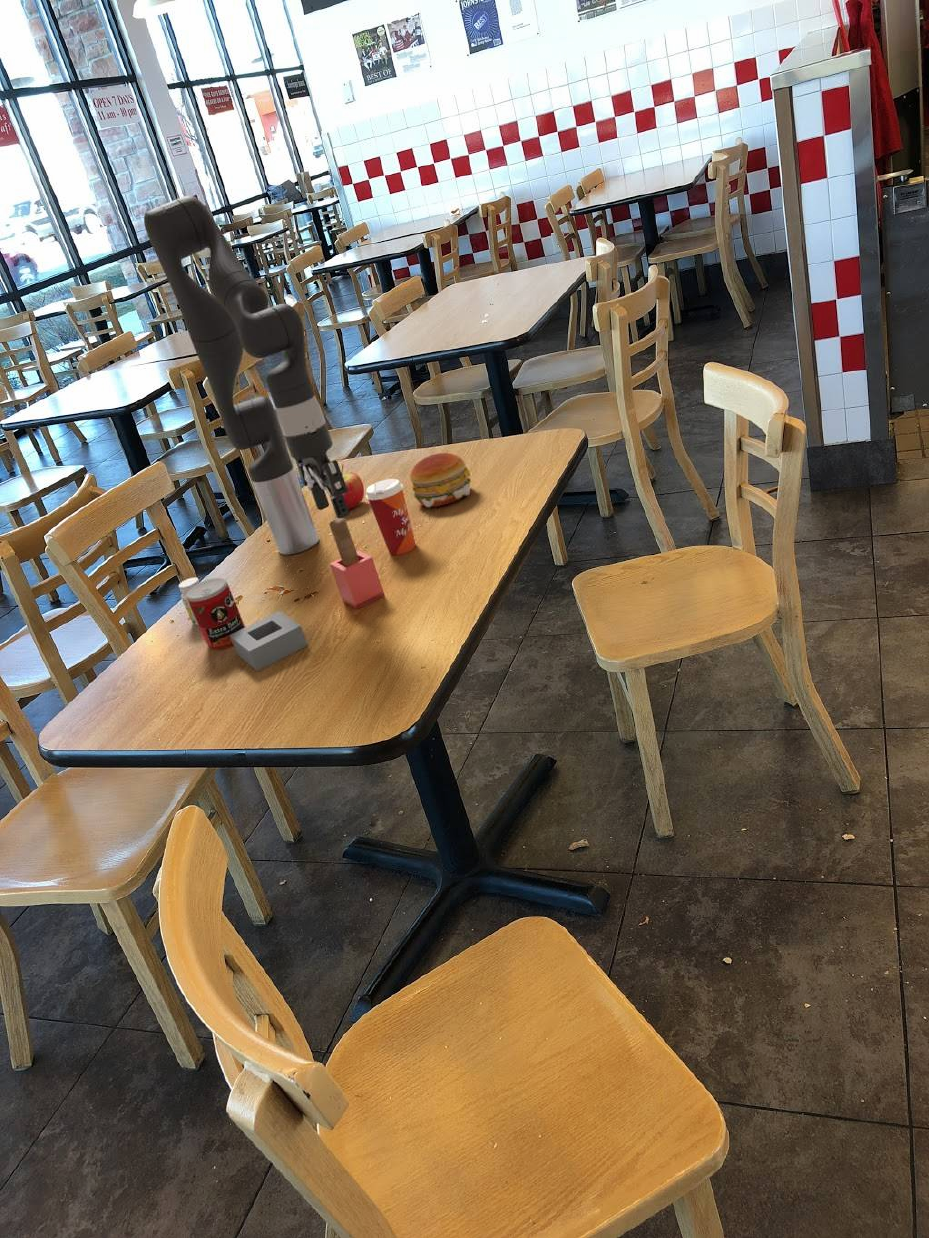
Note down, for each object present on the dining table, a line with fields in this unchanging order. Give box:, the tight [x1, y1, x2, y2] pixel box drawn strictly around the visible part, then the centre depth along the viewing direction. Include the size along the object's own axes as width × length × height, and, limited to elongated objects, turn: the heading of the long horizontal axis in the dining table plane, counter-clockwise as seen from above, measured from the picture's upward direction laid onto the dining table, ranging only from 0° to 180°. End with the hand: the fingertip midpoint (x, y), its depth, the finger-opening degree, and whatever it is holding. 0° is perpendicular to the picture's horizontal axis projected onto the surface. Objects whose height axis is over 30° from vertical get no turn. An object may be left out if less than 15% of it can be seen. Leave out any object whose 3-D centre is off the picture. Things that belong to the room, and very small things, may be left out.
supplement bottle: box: [178, 577, 201, 626], centre depth 194 cm, size 5×5×8 cm
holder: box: [230, 610, 309, 672], centre depth 175 cm, size 10×10×4 cm
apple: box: [329, 464, 365, 510], centre depth 231 cm, size 8×8×10 cm
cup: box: [329, 549, 386, 610], centre depth 183 cm, size 6×6×8 cm
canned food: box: [186, 577, 246, 650], centre depth 182 cm, size 8×8×11 cm
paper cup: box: [365, 478, 416, 556], centre depth 199 cm, size 8×8×14 cm
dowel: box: [328, 517, 359, 567], centre depth 181 cm, size 3×3×15 cm
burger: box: [409, 452, 471, 508], centre depth 219 cm, size 13×14×10 cm
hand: (333, 512), depth 177 cm, fingers open, 8 cm apart
